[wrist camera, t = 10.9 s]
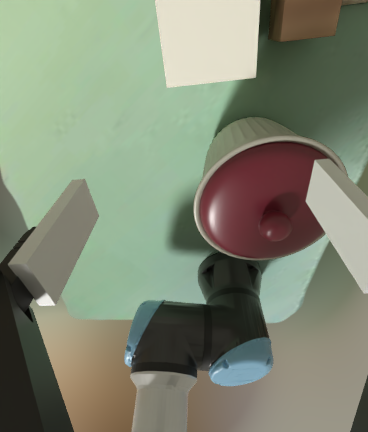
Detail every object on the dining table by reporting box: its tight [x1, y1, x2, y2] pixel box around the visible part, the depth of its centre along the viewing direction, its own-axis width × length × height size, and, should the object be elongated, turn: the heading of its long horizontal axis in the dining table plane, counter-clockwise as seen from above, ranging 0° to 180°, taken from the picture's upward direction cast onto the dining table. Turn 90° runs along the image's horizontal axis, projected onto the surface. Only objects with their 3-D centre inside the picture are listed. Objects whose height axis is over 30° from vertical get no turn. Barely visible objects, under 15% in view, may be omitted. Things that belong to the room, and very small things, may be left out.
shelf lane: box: [155, 0, 260, 88], centre depth 29 cm, size 11×10×10 cm
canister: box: [194, 117, 348, 260], centre depth 35 cm, size 18×18×21 cm
